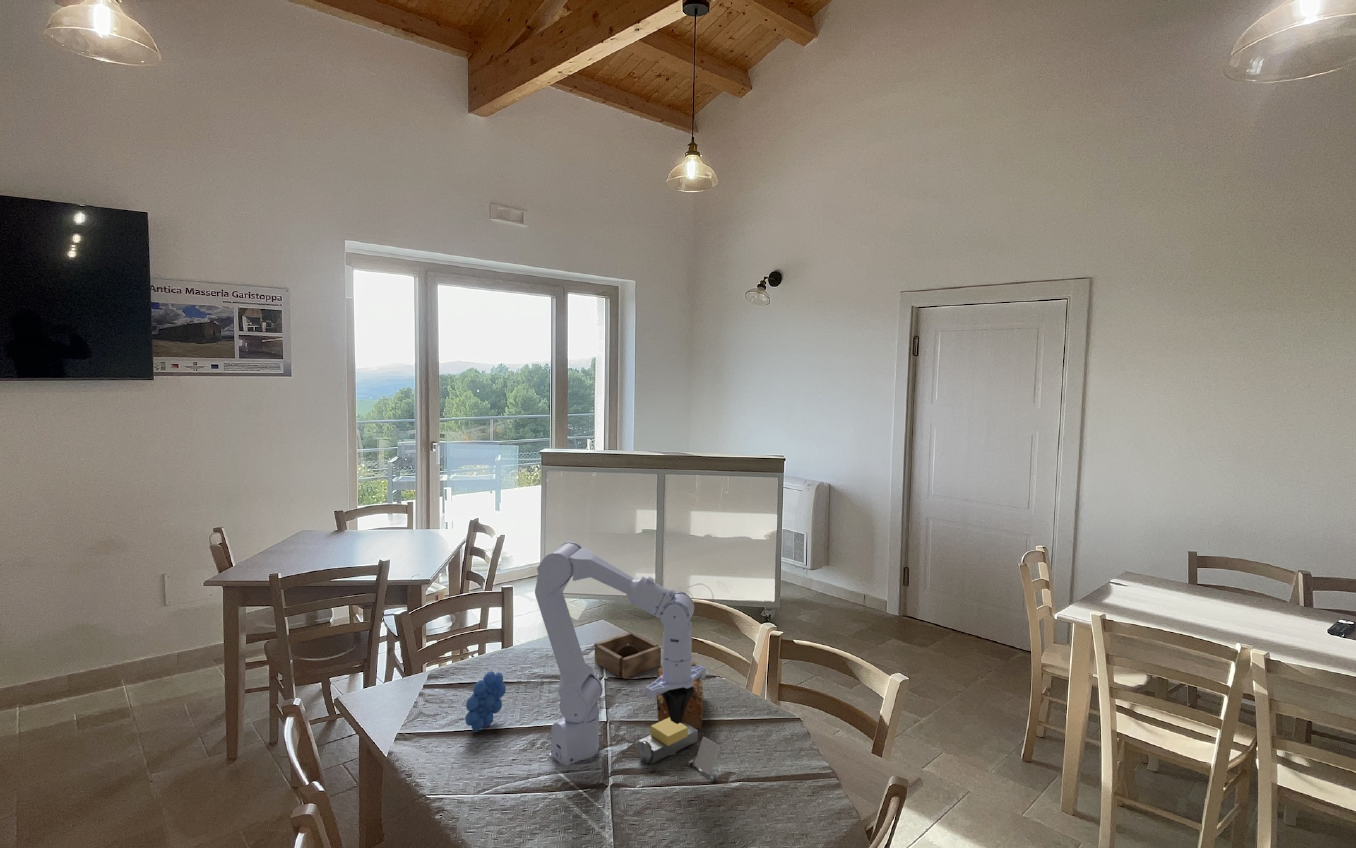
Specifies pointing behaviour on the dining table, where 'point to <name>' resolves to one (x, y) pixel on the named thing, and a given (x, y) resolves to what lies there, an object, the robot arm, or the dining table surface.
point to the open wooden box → (631, 664)
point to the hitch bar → (666, 748)
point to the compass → (627, 650)
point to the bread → (693, 706)
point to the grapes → (485, 701)
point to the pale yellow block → (669, 731)
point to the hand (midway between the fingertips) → (676, 721)
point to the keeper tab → (706, 757)
